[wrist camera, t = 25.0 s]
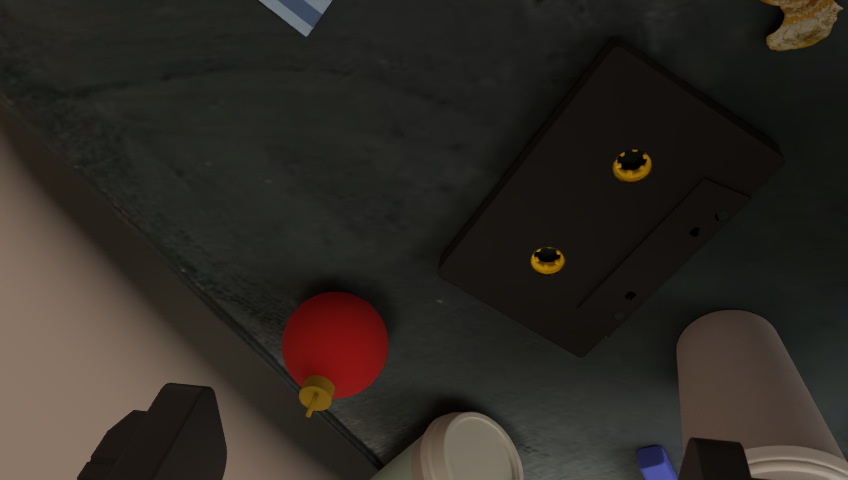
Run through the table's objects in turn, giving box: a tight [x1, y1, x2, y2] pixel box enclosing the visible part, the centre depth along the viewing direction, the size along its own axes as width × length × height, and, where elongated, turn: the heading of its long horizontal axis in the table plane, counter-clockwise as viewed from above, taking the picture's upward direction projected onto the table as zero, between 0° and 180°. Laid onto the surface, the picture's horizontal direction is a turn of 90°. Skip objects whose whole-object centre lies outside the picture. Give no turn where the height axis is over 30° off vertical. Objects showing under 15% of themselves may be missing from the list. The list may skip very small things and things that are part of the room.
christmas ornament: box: [282, 292, 388, 417], centre depth 49 cm, size 7×7×10 cm
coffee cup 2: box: [676, 310, 848, 480], centre depth 44 cm, size 10×10×15 cm
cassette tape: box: [437, 37, 785, 357], centre depth 45 cm, size 18×12×2 cm, turn 149°
